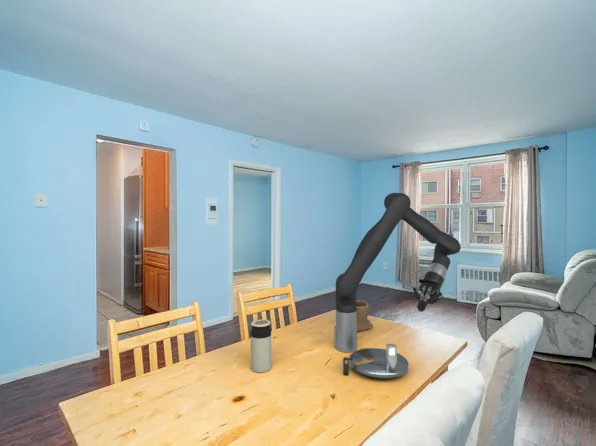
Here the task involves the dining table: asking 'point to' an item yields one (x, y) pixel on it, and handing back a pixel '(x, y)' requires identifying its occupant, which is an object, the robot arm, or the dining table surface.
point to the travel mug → (261, 346)
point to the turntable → (379, 362)
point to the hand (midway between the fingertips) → (420, 310)
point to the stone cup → (363, 315)
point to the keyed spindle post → (346, 365)
